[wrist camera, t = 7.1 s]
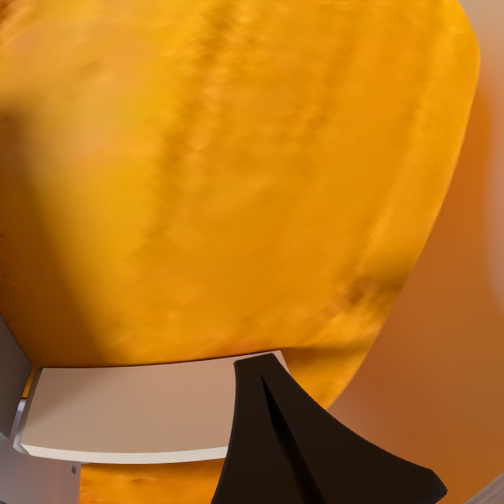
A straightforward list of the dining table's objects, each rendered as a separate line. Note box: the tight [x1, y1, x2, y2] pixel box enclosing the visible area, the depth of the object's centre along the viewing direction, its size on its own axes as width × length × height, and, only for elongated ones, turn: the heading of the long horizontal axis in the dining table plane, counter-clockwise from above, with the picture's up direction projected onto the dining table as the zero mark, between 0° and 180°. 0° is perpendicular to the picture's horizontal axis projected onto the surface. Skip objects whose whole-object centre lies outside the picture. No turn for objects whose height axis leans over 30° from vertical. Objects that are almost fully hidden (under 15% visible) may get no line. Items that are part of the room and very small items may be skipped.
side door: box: [13, 350, 291, 464], centre depth 15 cm, size 16×2×6 cm, turn 90°
